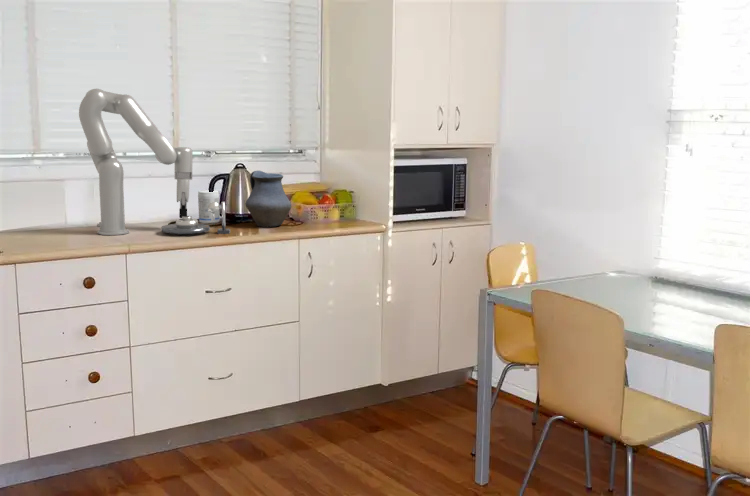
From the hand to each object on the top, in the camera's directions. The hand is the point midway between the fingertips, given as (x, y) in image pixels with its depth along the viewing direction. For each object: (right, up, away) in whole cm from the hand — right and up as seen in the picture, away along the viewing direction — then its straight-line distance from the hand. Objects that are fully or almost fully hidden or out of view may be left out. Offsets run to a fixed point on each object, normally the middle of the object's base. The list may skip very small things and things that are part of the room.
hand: (183, 217), depth 334 cm
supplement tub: (+6, -1, +25) cm, 26 cm away
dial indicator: (+18, -7, -6) cm, 20 cm away
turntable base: (+3, -7, -7) cm, 11 cm away
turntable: (+3, -6, -8) cm, 10 cm away
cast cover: (+4, -4, -9) cm, 10 cm away
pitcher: (+35, -3, +17) cm, 39 cm away
